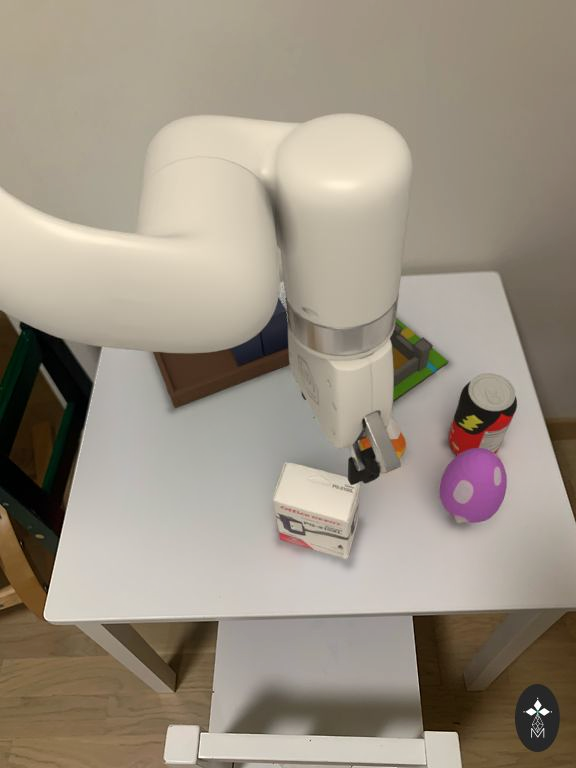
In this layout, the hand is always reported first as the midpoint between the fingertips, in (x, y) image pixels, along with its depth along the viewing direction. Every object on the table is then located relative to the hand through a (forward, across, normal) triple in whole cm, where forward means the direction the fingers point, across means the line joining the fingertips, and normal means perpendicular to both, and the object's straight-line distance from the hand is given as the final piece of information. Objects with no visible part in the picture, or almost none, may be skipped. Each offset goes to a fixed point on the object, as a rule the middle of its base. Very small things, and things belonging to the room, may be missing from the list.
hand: (340, 432), depth 54 cm
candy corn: (+22, -6, +9) cm, 24 cm away
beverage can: (+22, -2, +20) cm, 30 cm away
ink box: (+22, 0, -3) cm, 22 cm away
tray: (+21, -32, -4) cm, 38 cm away
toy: (+22, +6, +13) cm, 26 cm away
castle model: (+22, -20, +15) cm, 33 cm away
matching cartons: (+20, -31, +1) cm, 38 cm away
